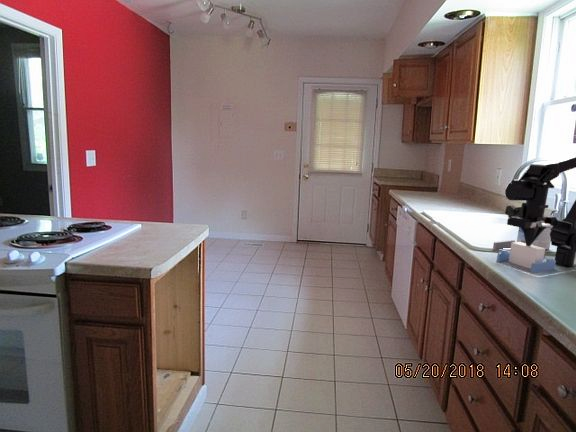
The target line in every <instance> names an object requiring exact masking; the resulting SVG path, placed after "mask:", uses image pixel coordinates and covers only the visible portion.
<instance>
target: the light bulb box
mask: <svg viewBox="0 0 576 432" xmlns="http://www.w3.org/2000/svg"><path fill="white" fill-rule="evenodd" d="M542 226H544V227H546V229H544V230H543V231H542V232H541V233H540V235H539V236H538V237H537V238H536V239H535V241H534V242H533V243H532V244H531V245H534V246H538V247H542V248H545V249H549V250H550V247H551V237H550V232H551V230H550V229H551V228H552V227H553V226H551V225H550V224H547V223H542ZM516 242H523V243H526V242H525V237H524V232H523V230H522V229H521V228H520V227H518V232H517V237H516Z"/></svg>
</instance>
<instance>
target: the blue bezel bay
mask: <svg viewBox="0 0 576 432" xmlns="http://www.w3.org/2000/svg"><path fill="white" fill-rule="evenodd" d="M509 255H510V251H509V252H508V250H501V252H497V256H496V262H497V263H499V264H503V265H506V266H509V267H512V268H515V269H518V270H521V271H524V272H527V273H530V274H534V273H540V272H546V271H552V270H555V268H556V265H557V264H556V260H555V259H554V258H551V257H550V258H546V260H543V262H537V263H532V265H531V269H530V268H527V267H524V266H521V265H517V264H514V263H511V262H508V261H509Z"/></svg>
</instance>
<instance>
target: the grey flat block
mask: <svg viewBox="0 0 576 432" xmlns="http://www.w3.org/2000/svg"><path fill="white" fill-rule="evenodd" d="M512 242H516V240H514V239H513V240H503V241H495V242H493V244H492V245H493V247H492V250H493V251H496V252H497V253H501V250H499V249H503V248H511V243H512ZM509 251H510V250H508V252H509ZM546 251H547V250H546V249H545V253H544V258H545V255H546Z"/></svg>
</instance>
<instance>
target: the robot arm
mask: <svg viewBox="0 0 576 432" xmlns="http://www.w3.org/2000/svg"><path fill="white" fill-rule="evenodd" d="M573 169H576V153H572V154H570V155H567V156H564V157H561V158H560V157H559V158H558V159H555V160H553V161H552V160H551V161H550V160H549V161H539V162H533V163H531V164H529V167H528V168H527V169H526V171H525V172H524V174H522V176H521V177H520V178H519V179H512V180H511V183H509V184H508V185H507V187H506V188H505V192H504V193H505V197H506V199H508V200H509V201H518V202H519V201H523V202H522V203H521V206H517V207H515V205H513V204H512V205H506V206H505V211H504V214H505V215H506V216H507V217H508V218H507V221H506V225H507V226H512V227H516V228H519V227H520V228H521V229H522V230H523V232H524V237H525V242H526V245H527V246H531V244H532V243H533V242H534V241H535V239H536V238H537V237H538V236H539V235H540V233H541V232H542V231H543V230H544V229H546V227H544V226H542V223H547V224H550V225H551V226H553V227H552V228H551V229H550V230H551V232H550V237H551V243H550V246H555V247H556V249H555V250H556V251H555V256H554V260H556V264H555V265H556V266H560V267H564V268H567V269H568V268H569V269H570V268H574V267H576V263H575V261H576V199H575V200H574V202H573V204H572V206H571V207H570V209H569V211H568V212H567V214H566V216H565V218H563V219H561V220H558V219H557V217H556V216H551V215H546V214H545V211H546V210H545V209H548V208H549V204H547V200H548V193H549V189H555V185H554V184H553V183H552V182H551V181H552V180H554V179H556V178H558V177H559V176H560V174H561V173H564V172H567V171H569V170H573Z"/></svg>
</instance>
